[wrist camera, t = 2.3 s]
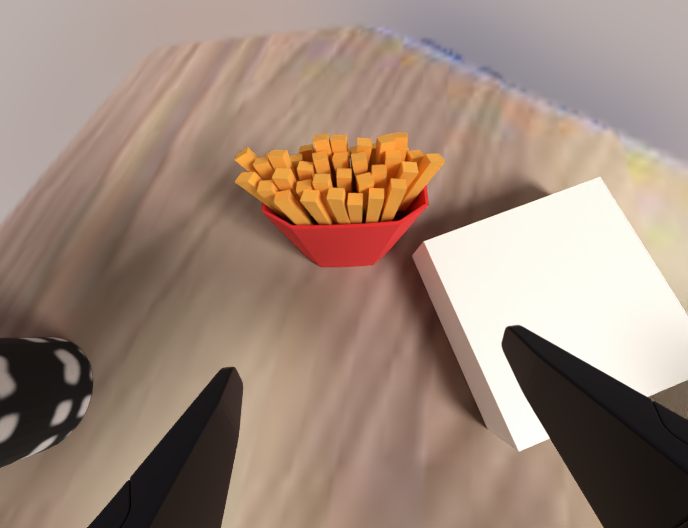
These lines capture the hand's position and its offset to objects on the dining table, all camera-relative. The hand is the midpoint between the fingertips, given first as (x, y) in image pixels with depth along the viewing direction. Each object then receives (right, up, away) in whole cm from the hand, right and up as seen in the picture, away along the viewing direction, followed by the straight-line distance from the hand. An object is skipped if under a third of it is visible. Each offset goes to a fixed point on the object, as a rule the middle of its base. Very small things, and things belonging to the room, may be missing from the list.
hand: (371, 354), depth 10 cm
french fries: (-1, +5, +15) cm, 16 cm away
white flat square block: (+14, 0, +14) cm, 19 cm away
